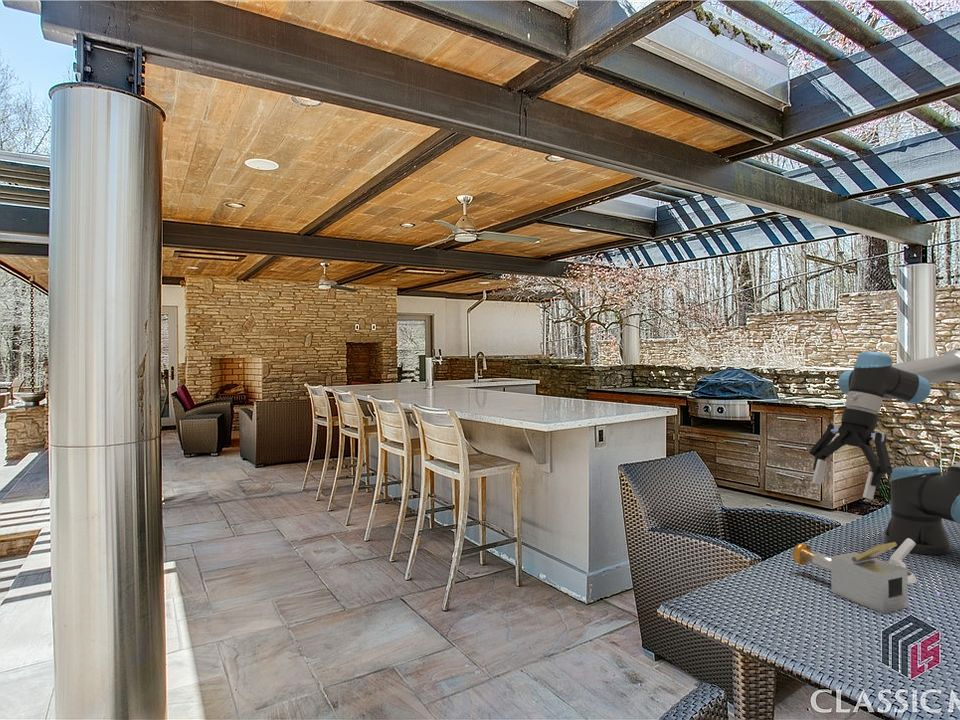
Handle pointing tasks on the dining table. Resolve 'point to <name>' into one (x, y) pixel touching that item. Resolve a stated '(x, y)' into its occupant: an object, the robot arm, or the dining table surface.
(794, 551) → the pin
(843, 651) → the dining table surface
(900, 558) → the grey ring with handle
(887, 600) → the block
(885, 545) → the plate
